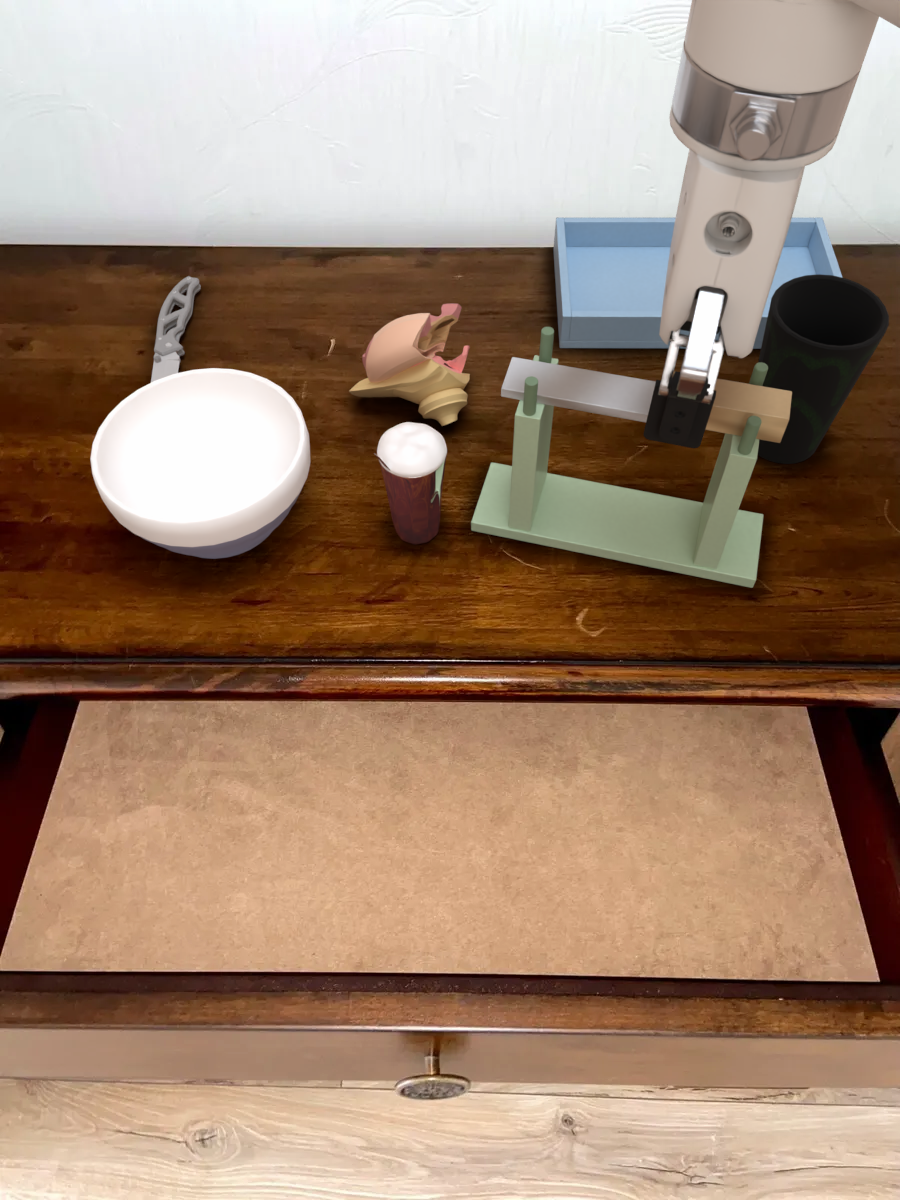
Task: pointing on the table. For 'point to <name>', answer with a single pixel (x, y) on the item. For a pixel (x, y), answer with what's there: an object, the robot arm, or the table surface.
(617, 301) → the tray
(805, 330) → the cup
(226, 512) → the bowl
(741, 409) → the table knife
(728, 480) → the rack
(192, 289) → the knife
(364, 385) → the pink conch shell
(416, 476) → the milkshake
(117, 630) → the table surface
